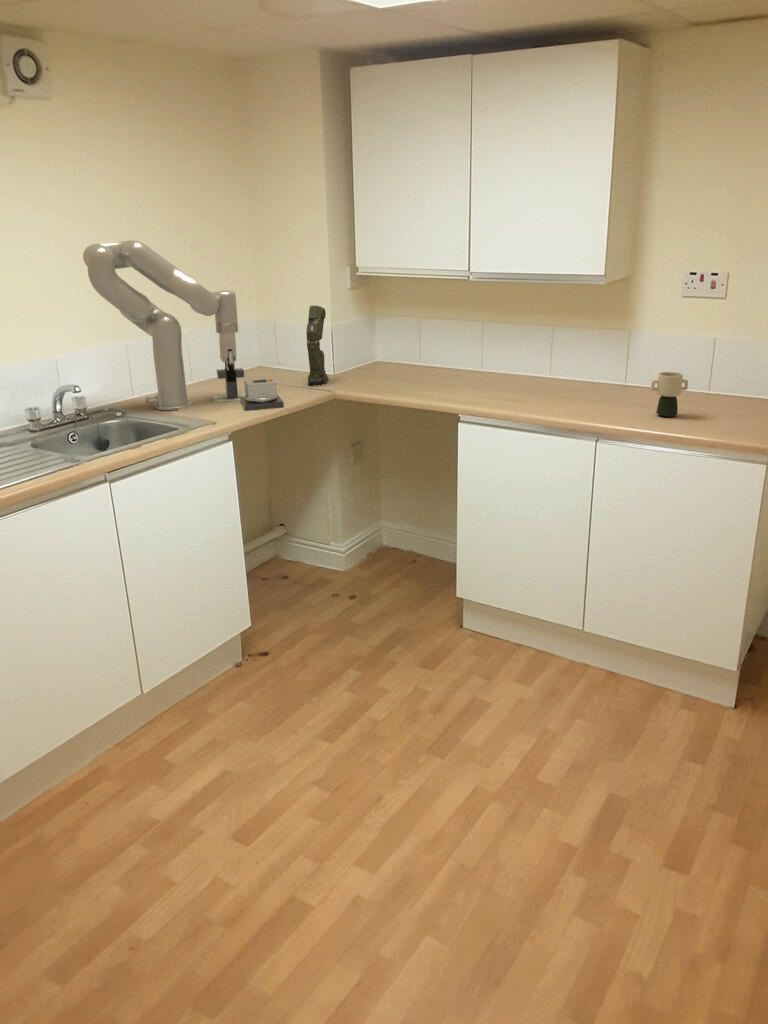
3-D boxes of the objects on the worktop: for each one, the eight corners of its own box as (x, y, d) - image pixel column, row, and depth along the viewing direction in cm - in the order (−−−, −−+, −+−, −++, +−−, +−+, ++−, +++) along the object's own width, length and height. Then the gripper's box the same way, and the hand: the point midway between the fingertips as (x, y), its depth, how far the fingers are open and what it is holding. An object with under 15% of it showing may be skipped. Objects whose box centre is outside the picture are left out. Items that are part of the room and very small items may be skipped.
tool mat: (215, 403, 289) (215, 402, 289) (212, 397, 298) (212, 396, 298) (249, 400, 292) (249, 399, 292) (246, 395, 301) (246, 393, 301)
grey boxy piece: (247, 403, 278) (245, 384, 275) (243, 396, 288) (241, 378, 285) (279, 400, 280) (278, 382, 278) (274, 393, 290) (273, 376, 288)
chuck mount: (245, 410, 277) (244, 405, 277) (240, 402, 289) (240, 397, 288) (283, 407, 281) (283, 401, 280) (277, 399, 292) (277, 394, 292)
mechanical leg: (320, 386, 308) (321, 303, 304) (301, 385, 309) (302, 303, 306) (330, 387, 321) (331, 308, 318) (312, 386, 323) (313, 308, 319)
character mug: (681, 412, 258) (685, 371, 254) (688, 418, 252) (692, 375, 247) (645, 413, 259) (649, 372, 255) (651, 418, 252) (655, 376, 248)
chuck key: (219, 398, 291) (217, 371, 288) (218, 396, 295) (216, 369, 292) (245, 396, 294) (243, 370, 290) (244, 394, 298) (242, 368, 294)
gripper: (213, 325, 293) (217, 376, 299) (218, 331, 278) (222, 385, 284) (235, 324, 295) (238, 375, 301) (240, 330, 280) (244, 384, 286)
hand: (230, 379), depth 292 cm, fingers closed on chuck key, 4 cm apart
